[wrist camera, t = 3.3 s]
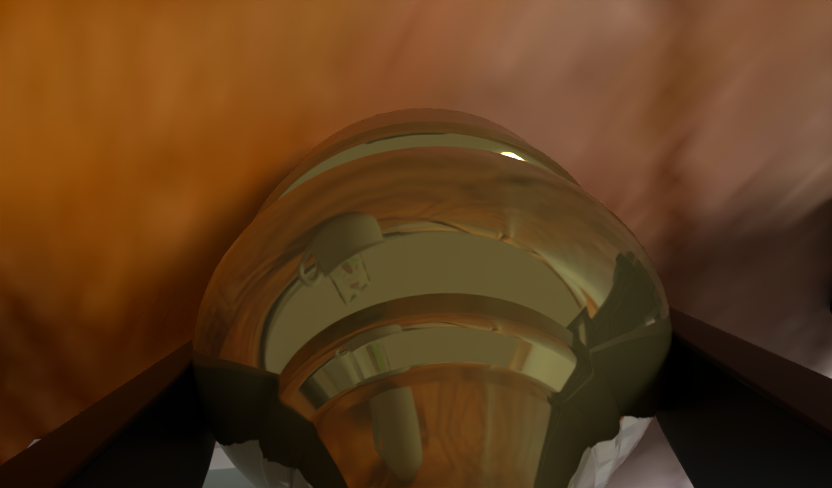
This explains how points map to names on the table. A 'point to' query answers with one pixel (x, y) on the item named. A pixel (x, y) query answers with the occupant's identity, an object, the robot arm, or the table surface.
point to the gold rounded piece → (431, 319)
